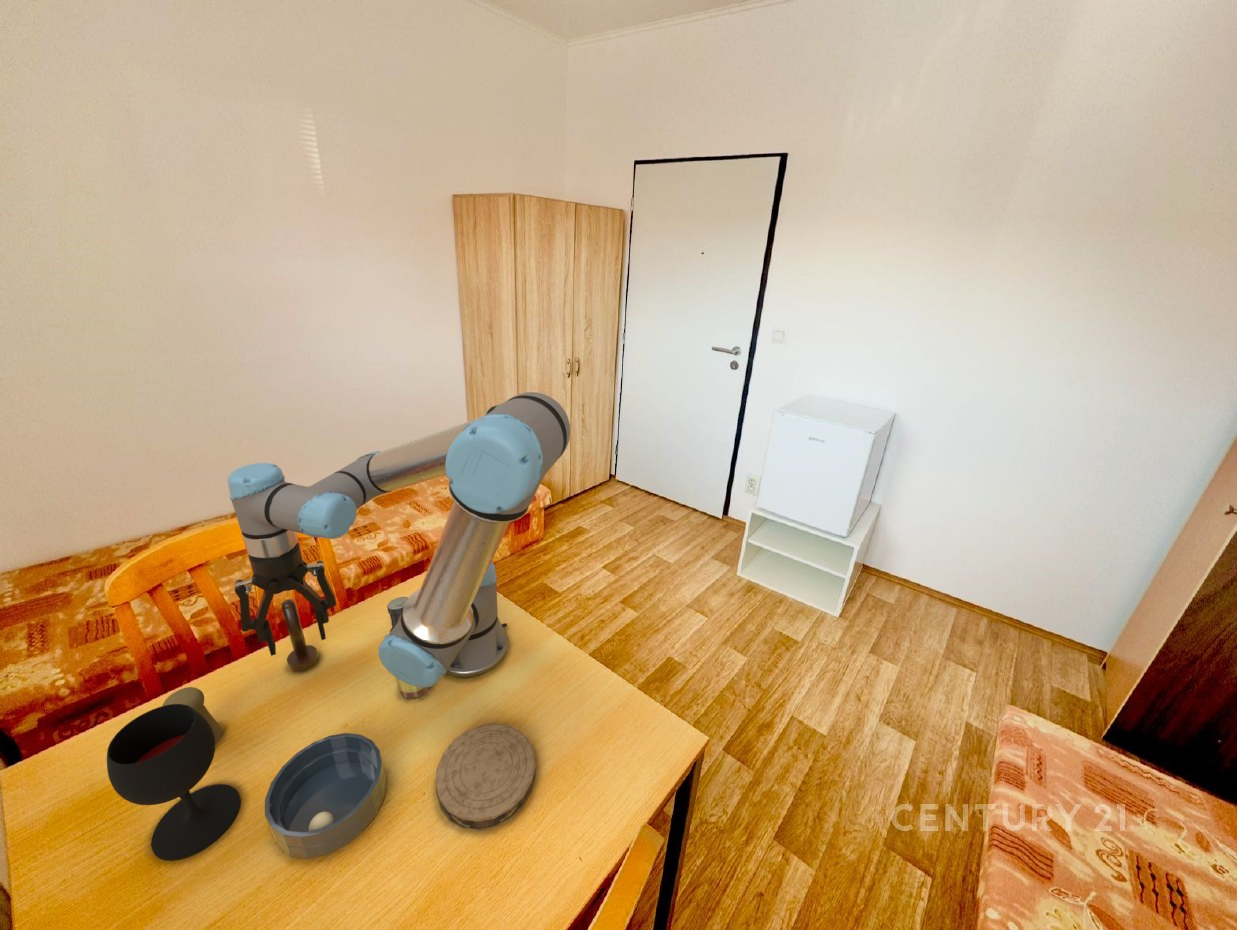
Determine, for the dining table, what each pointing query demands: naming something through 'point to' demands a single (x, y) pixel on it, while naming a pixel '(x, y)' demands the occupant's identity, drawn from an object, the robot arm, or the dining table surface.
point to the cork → (195, 706)
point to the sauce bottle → (395, 612)
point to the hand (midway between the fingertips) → (298, 642)
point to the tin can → (485, 776)
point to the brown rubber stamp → (298, 641)
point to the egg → (321, 821)
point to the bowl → (325, 794)
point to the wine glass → (173, 778)
